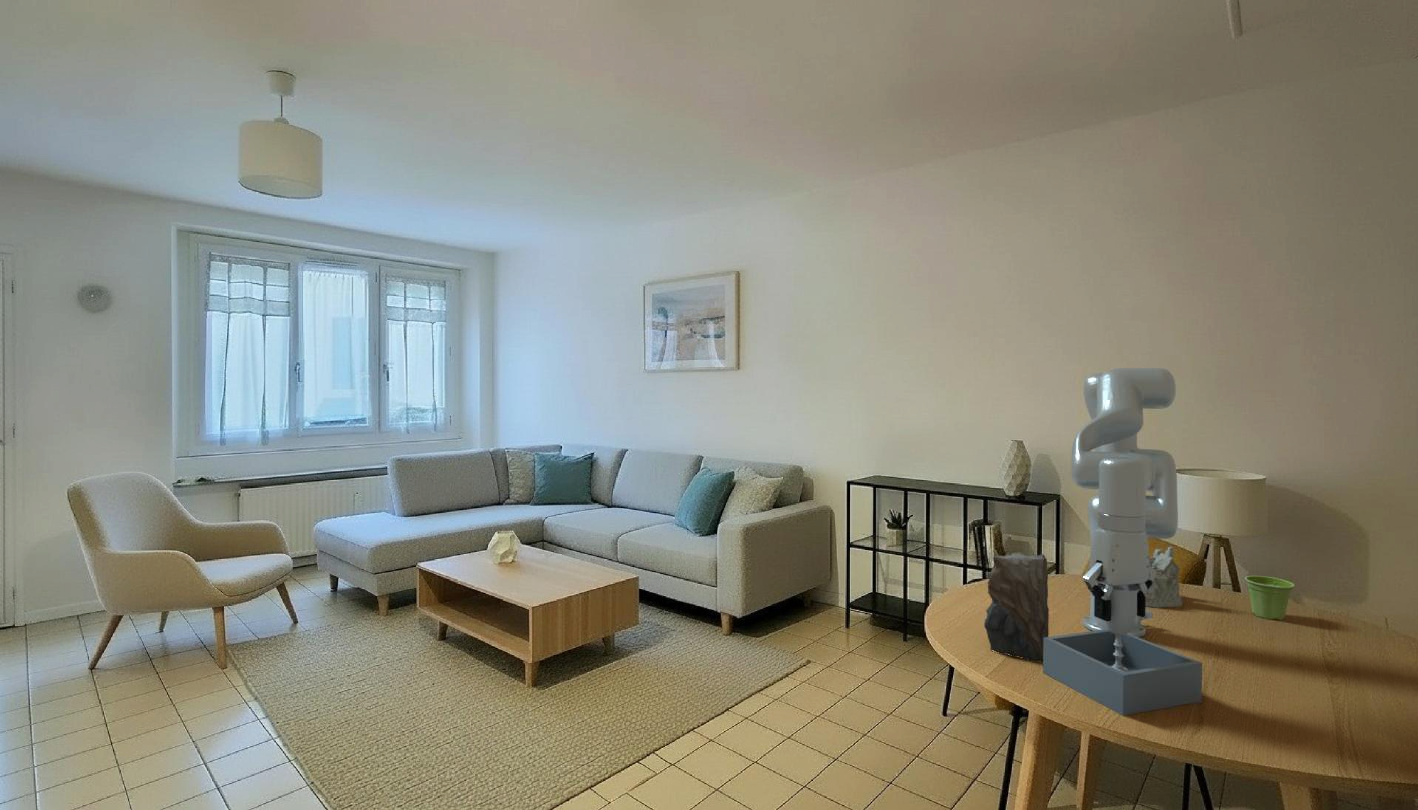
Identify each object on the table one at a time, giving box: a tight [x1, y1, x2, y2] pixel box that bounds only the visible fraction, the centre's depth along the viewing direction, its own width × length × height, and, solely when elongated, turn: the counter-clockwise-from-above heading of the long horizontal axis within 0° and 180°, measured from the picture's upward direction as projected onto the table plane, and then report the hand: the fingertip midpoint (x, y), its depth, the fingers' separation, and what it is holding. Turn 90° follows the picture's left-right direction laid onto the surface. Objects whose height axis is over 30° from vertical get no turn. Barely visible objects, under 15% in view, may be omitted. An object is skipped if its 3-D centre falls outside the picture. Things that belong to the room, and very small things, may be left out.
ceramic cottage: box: [1146, 546, 1183, 608], centre depth 179 cm, size 16×16×15 cm
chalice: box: [1101, 580, 1140, 672], centre depth 127 cm, size 7×7×18 cm
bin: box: [1042, 629, 1203, 716], centre depth 127 cm, size 18×18×7 cm
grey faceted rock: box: [983, 551, 1050, 663], centre depth 145 cm, size 13×13×20 cm
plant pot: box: [1244, 575, 1295, 621], centre depth 165 cm, size 9×9×9 cm
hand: (1119, 616), depth 126 cm, fingers open, 7 cm apart
